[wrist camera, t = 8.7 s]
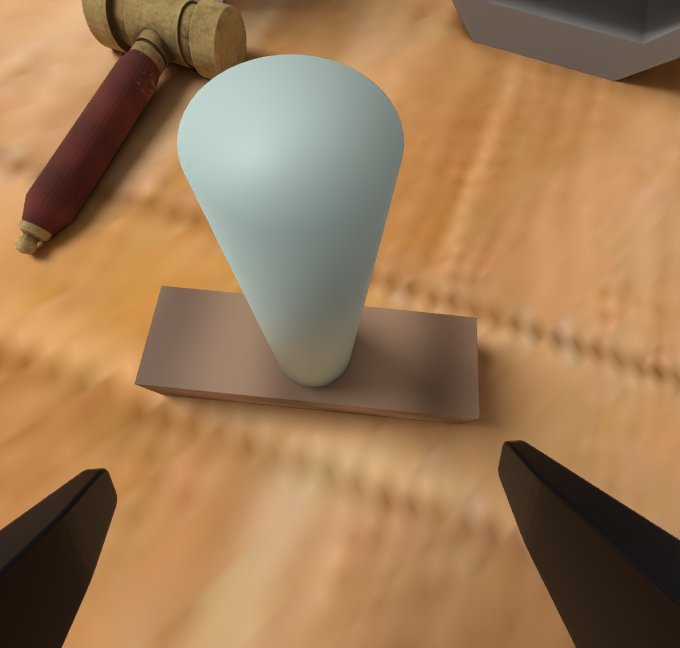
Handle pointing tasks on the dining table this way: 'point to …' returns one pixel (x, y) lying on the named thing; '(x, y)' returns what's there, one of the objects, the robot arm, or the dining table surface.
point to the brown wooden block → (339, 396)
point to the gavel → (127, 94)
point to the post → (296, 197)
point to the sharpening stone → (579, 32)
